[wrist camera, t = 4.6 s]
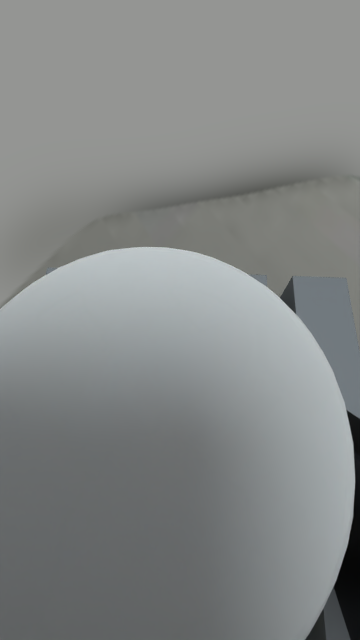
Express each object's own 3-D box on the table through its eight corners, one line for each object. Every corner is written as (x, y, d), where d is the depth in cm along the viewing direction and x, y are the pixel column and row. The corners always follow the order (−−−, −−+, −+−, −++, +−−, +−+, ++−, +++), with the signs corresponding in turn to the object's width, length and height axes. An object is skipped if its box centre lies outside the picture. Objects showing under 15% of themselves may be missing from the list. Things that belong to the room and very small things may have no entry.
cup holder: (354, 650, 11) (431, 753, 8) (4, 601, 12) (-77, 668, 9) (314, 312, 17) (346, 277, 13) (77, 302, 18) (47, 267, 15)
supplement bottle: (96, 430, 15) (-264, 398, 3) (185, 349, 17) (156, 129, 5) (180, 544, 13) (-1, 1627, 1) (273, 438, 14) (613, 435, 3)
